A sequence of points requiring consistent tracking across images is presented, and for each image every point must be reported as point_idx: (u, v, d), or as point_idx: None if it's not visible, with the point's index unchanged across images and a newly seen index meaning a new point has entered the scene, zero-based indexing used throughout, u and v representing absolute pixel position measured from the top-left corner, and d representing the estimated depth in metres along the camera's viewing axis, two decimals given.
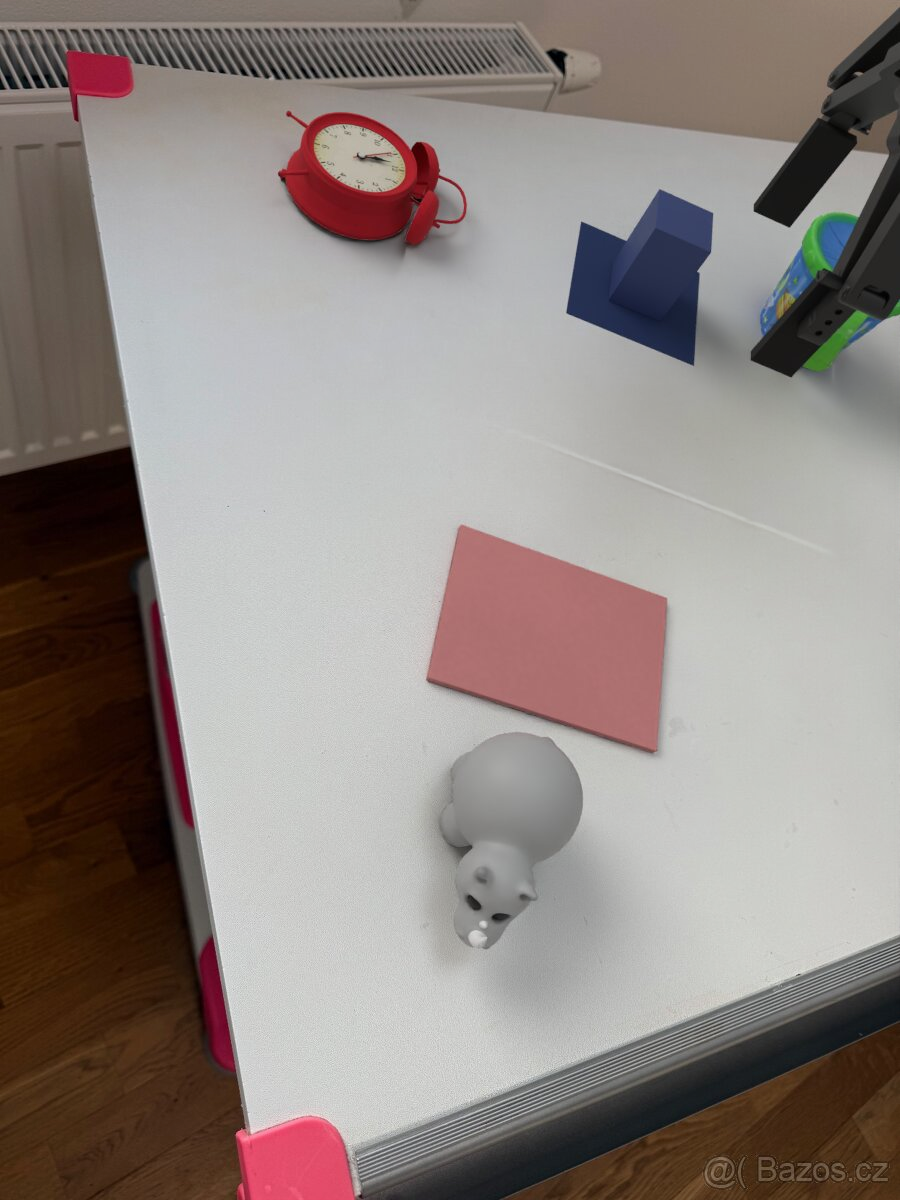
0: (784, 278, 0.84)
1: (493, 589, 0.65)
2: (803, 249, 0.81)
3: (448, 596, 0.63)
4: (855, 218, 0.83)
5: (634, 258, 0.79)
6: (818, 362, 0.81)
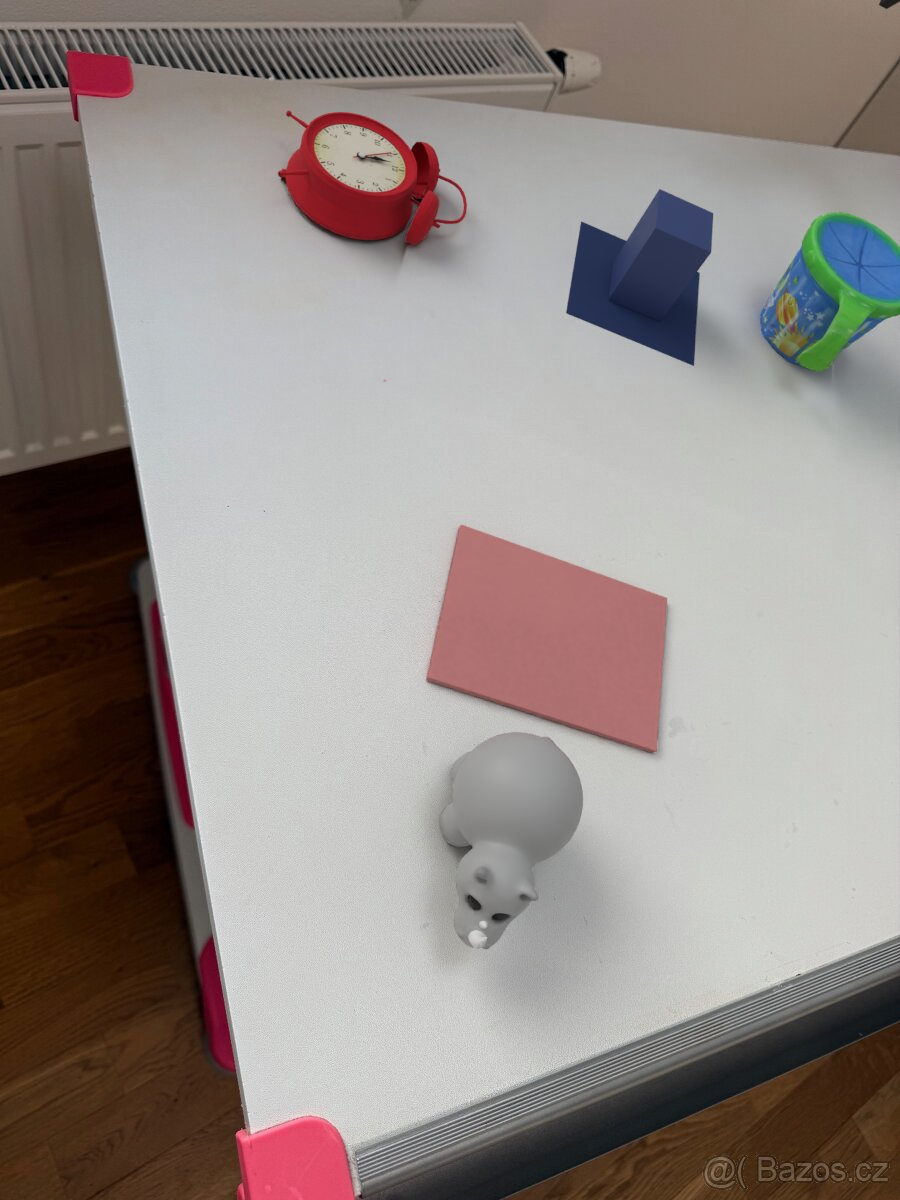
0: (784, 278, 0.84)
1: (493, 589, 0.65)
2: (803, 249, 0.81)
3: (448, 596, 0.63)
4: (855, 218, 0.83)
5: (634, 258, 0.79)
6: (818, 362, 0.81)
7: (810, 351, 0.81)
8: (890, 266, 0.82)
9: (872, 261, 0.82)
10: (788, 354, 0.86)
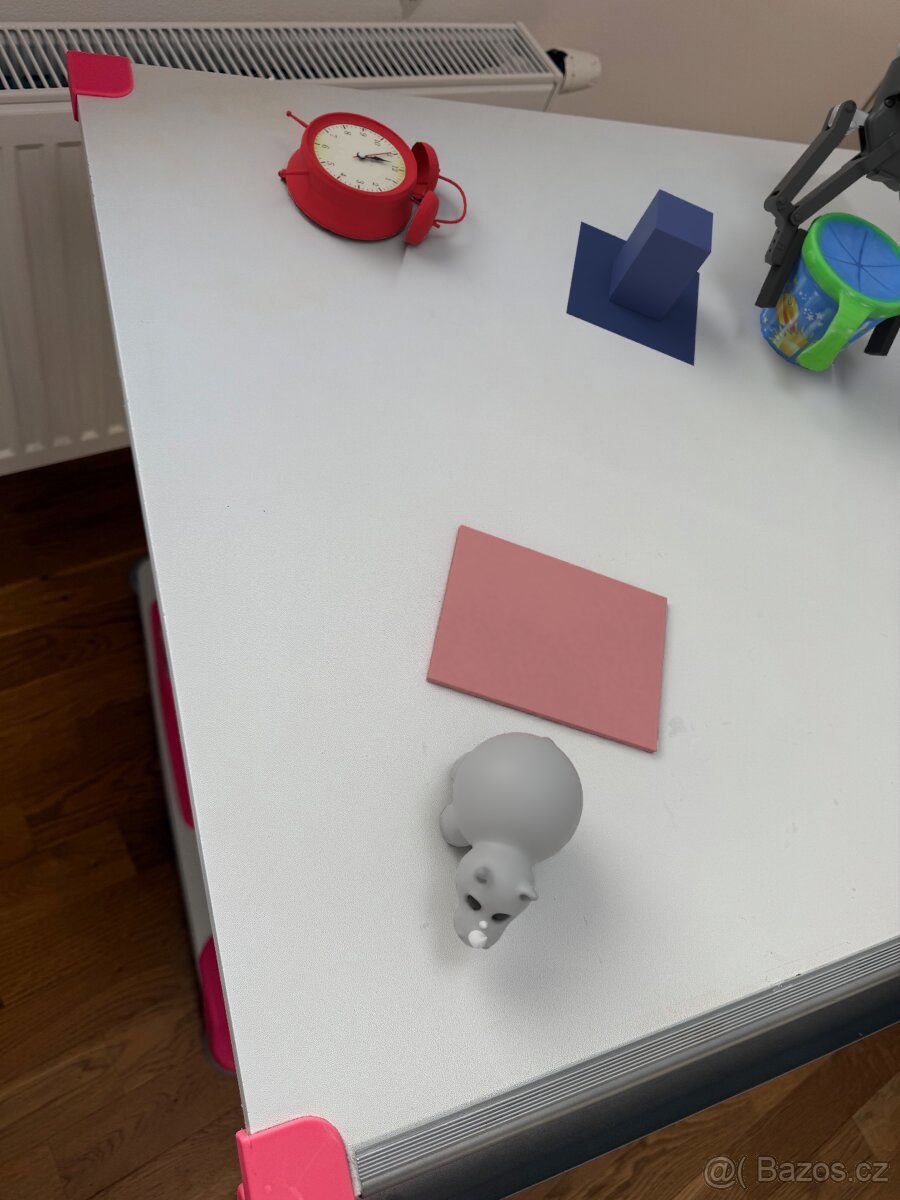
0: None
1: (493, 589, 0.65)
2: (803, 249, 0.81)
3: (448, 596, 0.63)
4: (855, 218, 0.83)
5: (634, 258, 0.79)
6: (818, 362, 0.81)
7: (810, 351, 0.81)
8: (889, 266, 0.82)
9: (872, 261, 0.82)
10: (788, 354, 0.86)
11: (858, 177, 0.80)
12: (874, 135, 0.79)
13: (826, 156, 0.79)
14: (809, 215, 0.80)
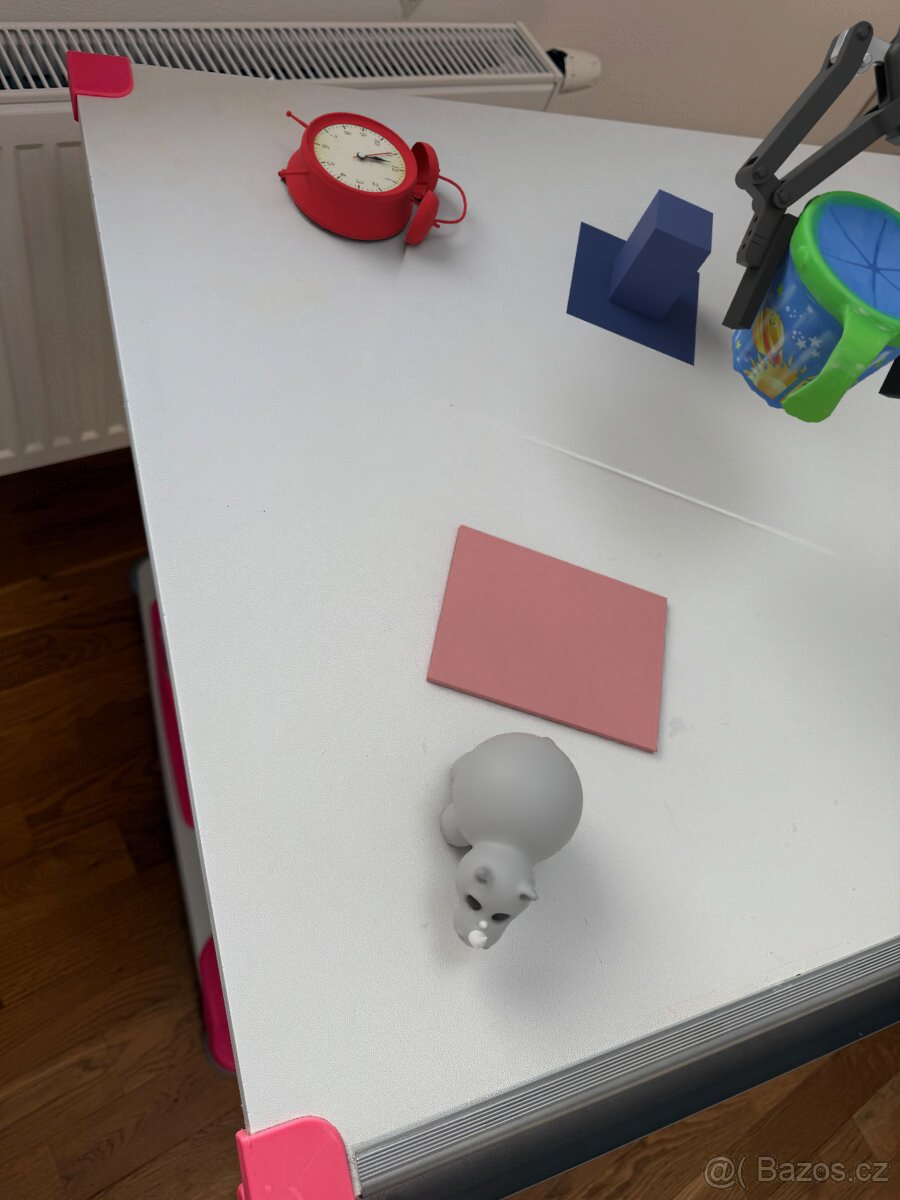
0: None
1: (493, 589, 0.65)
2: (791, 244, 0.55)
3: (448, 596, 0.63)
4: (868, 200, 0.57)
5: (634, 258, 0.79)
6: (812, 410, 0.55)
7: (800, 394, 0.55)
8: None
9: (893, 262, 0.56)
10: (770, 395, 0.60)
11: (874, 138, 0.54)
12: (899, 75, 0.53)
13: (827, 106, 0.53)
14: (801, 194, 0.54)
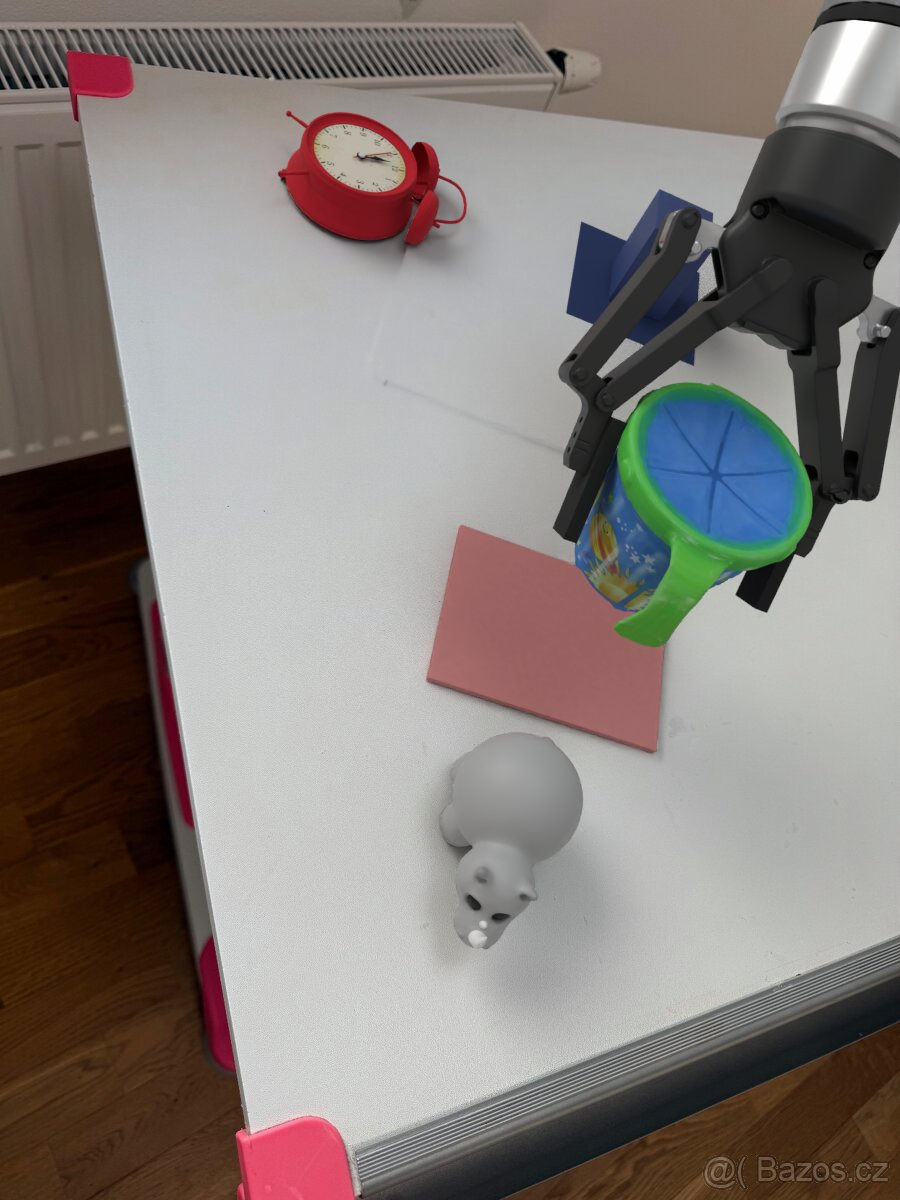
0: None
1: (493, 589, 0.65)
2: (618, 452, 0.48)
3: (448, 596, 0.63)
4: (713, 391, 0.51)
5: (634, 258, 0.79)
6: (645, 637, 0.49)
7: (629, 623, 0.48)
8: (768, 473, 0.50)
9: (739, 464, 0.50)
10: (613, 600, 0.54)
11: (709, 334, 0.47)
12: (734, 265, 0.47)
13: (652, 300, 0.47)
14: (628, 396, 0.48)
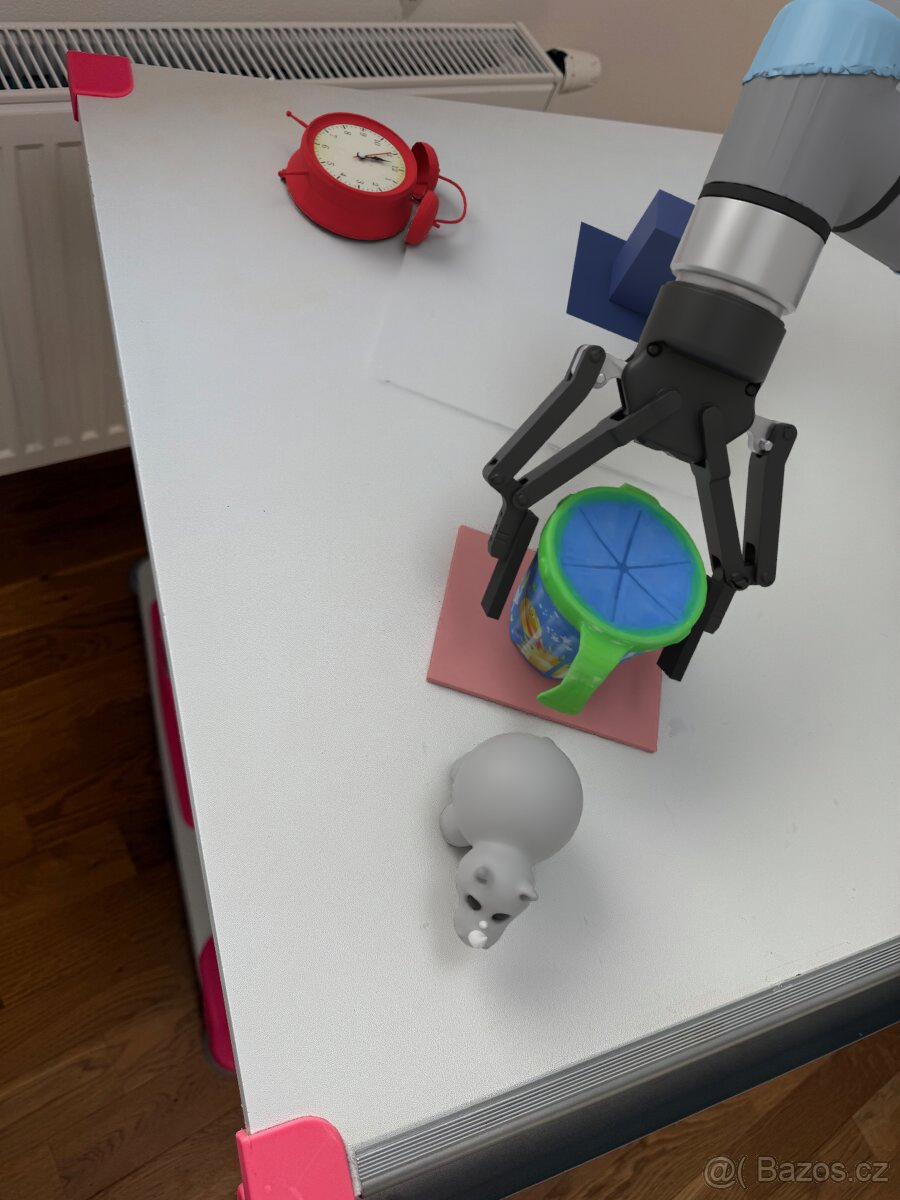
0: (527, 573, 0.60)
1: None
2: (538, 549, 0.56)
3: (448, 596, 0.63)
4: (623, 493, 0.59)
5: (634, 258, 0.79)
6: (563, 707, 0.57)
7: (548, 696, 0.56)
8: (669, 564, 0.58)
9: (644, 558, 0.58)
10: (541, 669, 0.62)
11: (611, 449, 0.56)
12: (633, 394, 0.55)
13: (562, 420, 0.55)
14: (539, 497, 0.56)
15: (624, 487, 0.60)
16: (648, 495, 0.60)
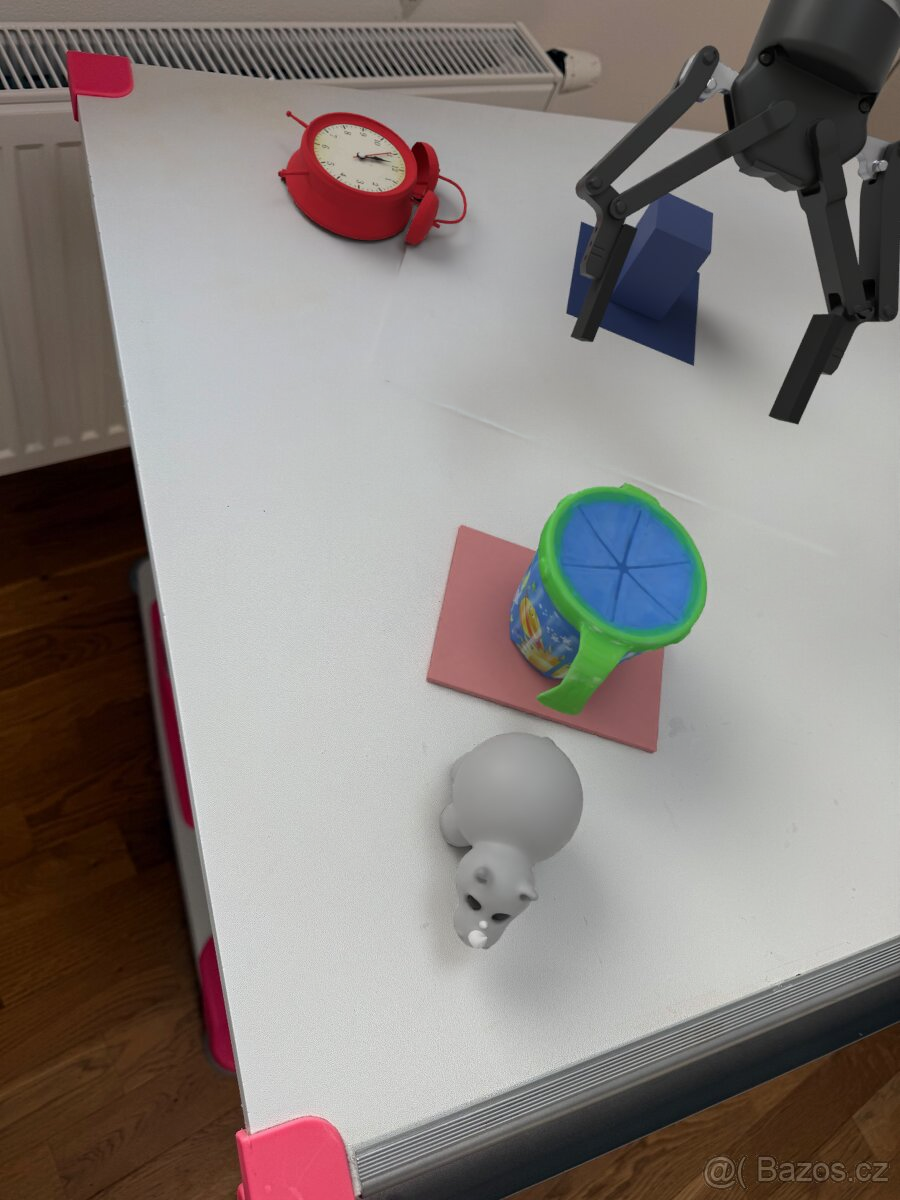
0: (527, 573, 0.60)
1: (493, 589, 0.65)
2: (538, 549, 0.56)
3: (448, 596, 0.63)
4: (623, 493, 0.59)
5: (634, 258, 0.79)
6: (563, 707, 0.57)
7: (548, 696, 0.56)
8: (669, 565, 0.58)
9: (644, 558, 0.58)
10: (541, 669, 0.62)
11: (716, 161, 0.53)
12: (742, 106, 0.53)
13: (667, 126, 0.53)
14: (638, 207, 0.54)
15: (624, 487, 0.60)
16: (648, 495, 0.60)
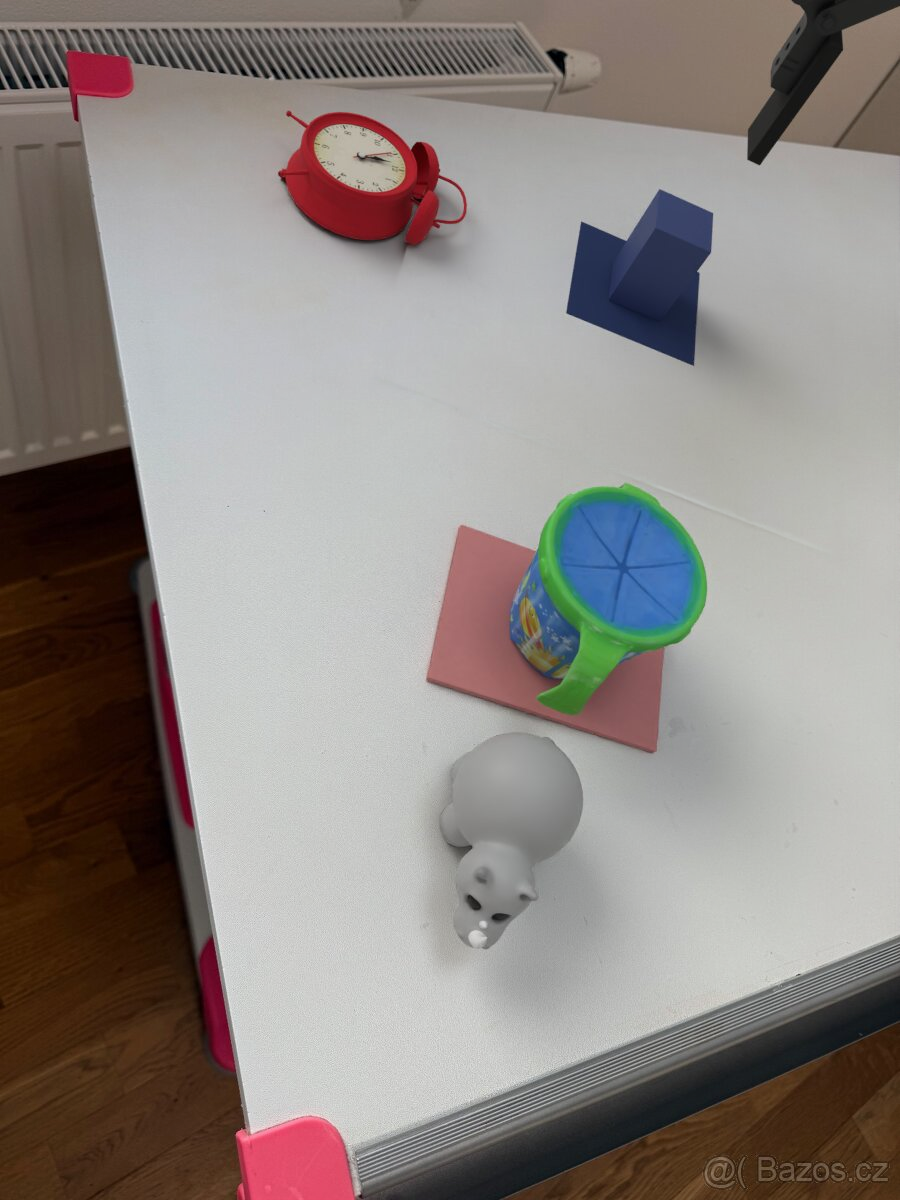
0: (527, 573, 0.60)
1: (493, 589, 0.65)
2: (538, 549, 0.56)
3: (448, 596, 0.63)
4: (623, 493, 0.59)
5: (634, 258, 0.79)
6: (563, 707, 0.57)
7: (548, 696, 0.56)
8: (669, 565, 0.58)
9: (644, 558, 0.58)
10: (541, 669, 0.62)
11: None
12: None
13: None
14: (851, 23, 0.44)
15: (624, 487, 0.60)
16: (648, 495, 0.60)
